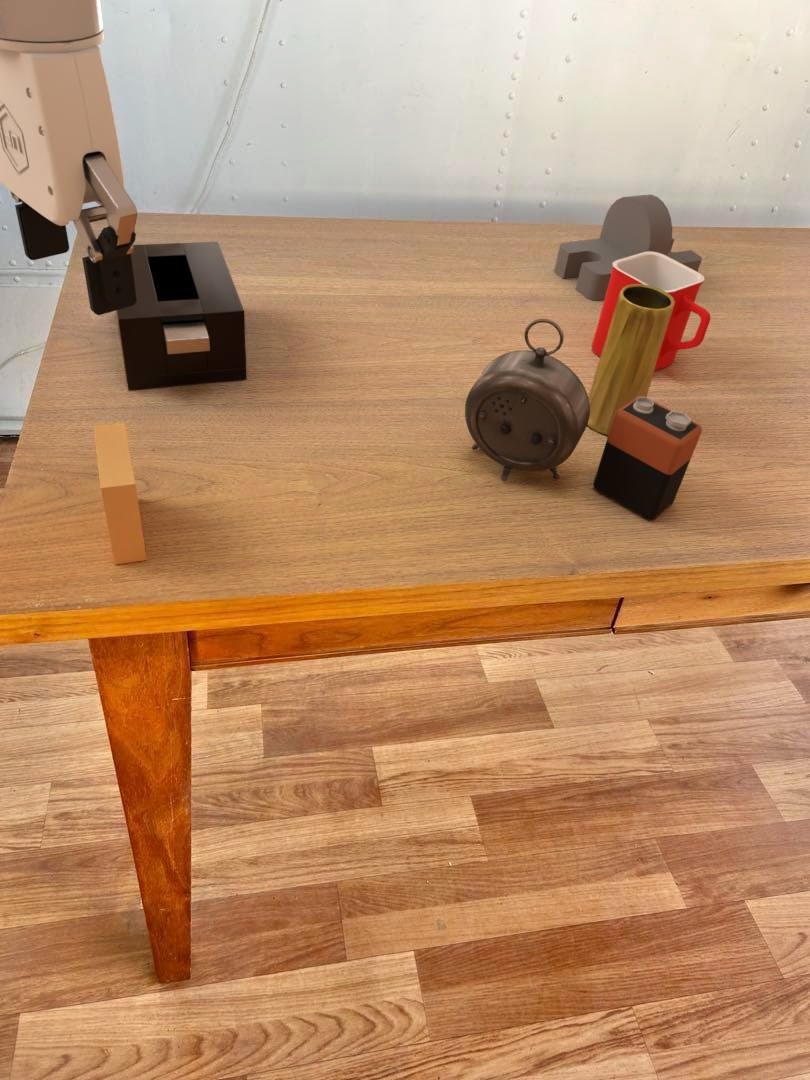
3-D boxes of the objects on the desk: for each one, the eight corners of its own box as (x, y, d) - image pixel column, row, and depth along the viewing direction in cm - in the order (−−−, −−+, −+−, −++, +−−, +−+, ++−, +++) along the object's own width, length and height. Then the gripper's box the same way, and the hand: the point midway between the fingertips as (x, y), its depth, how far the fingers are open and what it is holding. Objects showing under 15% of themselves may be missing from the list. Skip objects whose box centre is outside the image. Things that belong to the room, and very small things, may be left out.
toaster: (128, 390, 87) (118, 319, 82) (115, 313, 98) (105, 245, 92) (246, 379, 90) (244, 310, 85) (221, 306, 101) (218, 241, 96)
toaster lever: (167, 354, 82) (166, 340, 81) (164, 338, 84) (162, 324, 83) (210, 351, 83) (209, 337, 82) (205, 335, 85) (204, 321, 84)
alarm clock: (573, 474, 84) (617, 324, 73) (557, 505, 80) (600, 352, 69) (470, 438, 86) (497, 289, 75) (449, 467, 83) (474, 313, 72)
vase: (580, 431, 89) (616, 305, 80) (581, 400, 94) (615, 277, 84) (639, 441, 89) (682, 316, 79) (636, 409, 93) (677, 287, 84)
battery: (650, 524, 79) (684, 436, 72) (589, 488, 82) (617, 401, 76) (674, 504, 82) (709, 417, 75) (614, 470, 85) (642, 384, 78)
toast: (114, 565, 69) (100, 488, 64) (107, 501, 74) (93, 425, 69) (146, 560, 70) (135, 483, 64) (137, 497, 75) (125, 422, 70)
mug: (583, 348, 102) (605, 263, 95) (628, 331, 106) (653, 249, 99) (660, 397, 96) (691, 310, 89) (706, 377, 100) (738, 293, 93)
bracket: (697, 284, 118) (724, 206, 111) (591, 301, 111) (612, 219, 104) (653, 254, 124) (676, 178, 117) (550, 269, 117) (568, 189, 110)
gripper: (-90, -21, 53) (-24, 247, 64) (40, 53, 44) (90, 347, 56) (28, -27, 57) (71, 226, 68) (169, 40, 48) (191, 317, 60)
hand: (80, 280), depth 62 cm, fingers open, 9 cm apart
